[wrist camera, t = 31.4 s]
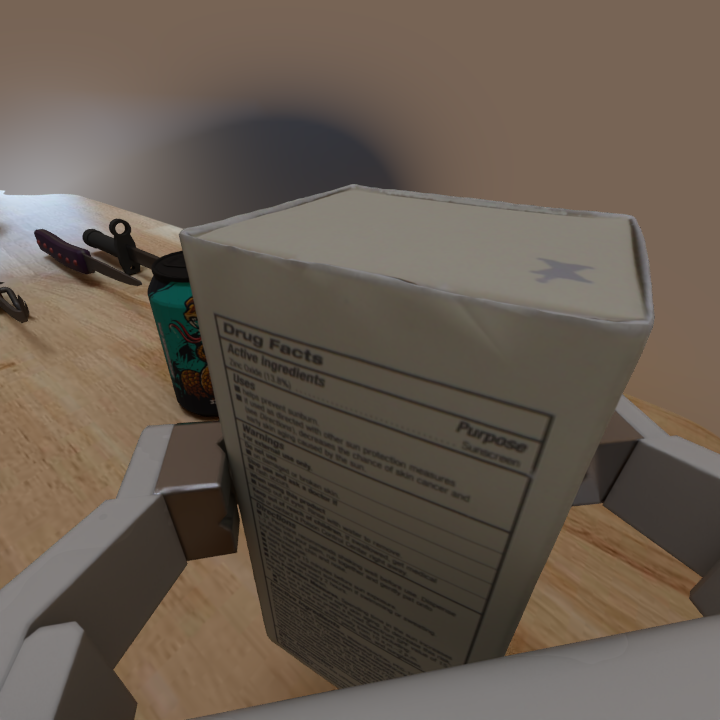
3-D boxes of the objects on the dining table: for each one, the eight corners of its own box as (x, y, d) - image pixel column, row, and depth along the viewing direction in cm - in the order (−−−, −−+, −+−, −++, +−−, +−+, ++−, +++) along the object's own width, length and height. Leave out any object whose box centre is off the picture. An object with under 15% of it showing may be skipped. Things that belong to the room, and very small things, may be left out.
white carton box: (503, 583, 11) (663, 213, 6) (455, 775, 8) (707, 352, 3) (344, 503, 13) (351, 173, 8) (254, 631, 10) (159, 223, 5)
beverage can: (247, 425, 32) (224, 285, 26) (162, 417, 33) (118, 277, 26) (271, 374, 38) (258, 248, 32) (199, 367, 39) (171, 243, 32)
